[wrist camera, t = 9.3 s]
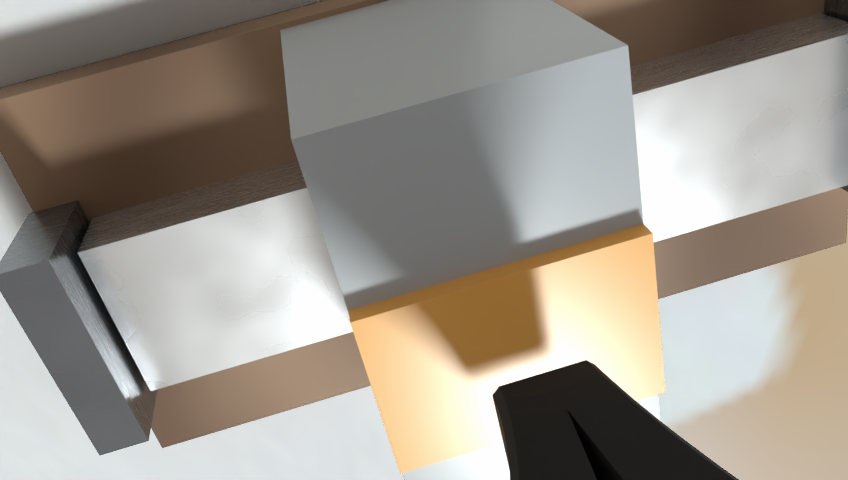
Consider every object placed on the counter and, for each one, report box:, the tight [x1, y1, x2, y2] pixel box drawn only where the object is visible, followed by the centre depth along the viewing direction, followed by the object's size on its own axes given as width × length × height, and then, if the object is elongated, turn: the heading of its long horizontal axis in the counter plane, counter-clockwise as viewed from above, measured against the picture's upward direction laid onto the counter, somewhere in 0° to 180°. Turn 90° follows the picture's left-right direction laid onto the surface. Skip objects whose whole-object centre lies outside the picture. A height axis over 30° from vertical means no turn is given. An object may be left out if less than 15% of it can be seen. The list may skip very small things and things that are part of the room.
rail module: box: [280, 0, 665, 480], centre depth 14 cm, size 4×8×6 cm, turn 13°
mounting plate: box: [0, 0, 848, 448], centre depth 17 cm, size 18×9×1 cm, turn 103°
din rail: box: [0, 0, 848, 455], centre depth 16 cm, size 18×4×2 cm, turn 103°
